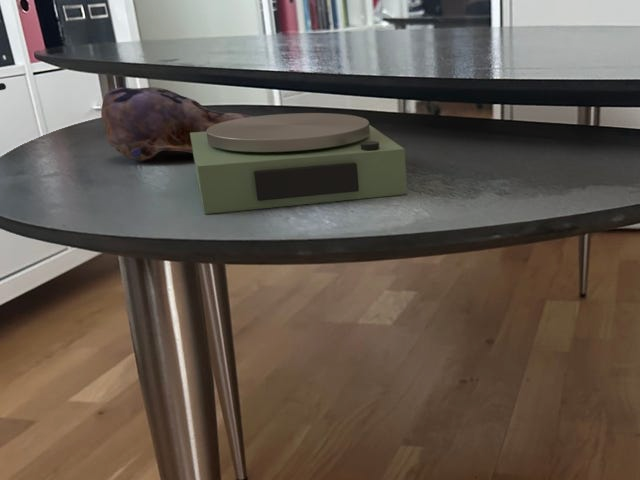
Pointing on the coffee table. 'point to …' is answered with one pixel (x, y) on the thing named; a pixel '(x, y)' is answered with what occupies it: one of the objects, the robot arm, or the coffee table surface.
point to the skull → (155, 121)
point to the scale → (297, 174)
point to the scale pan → (288, 132)
